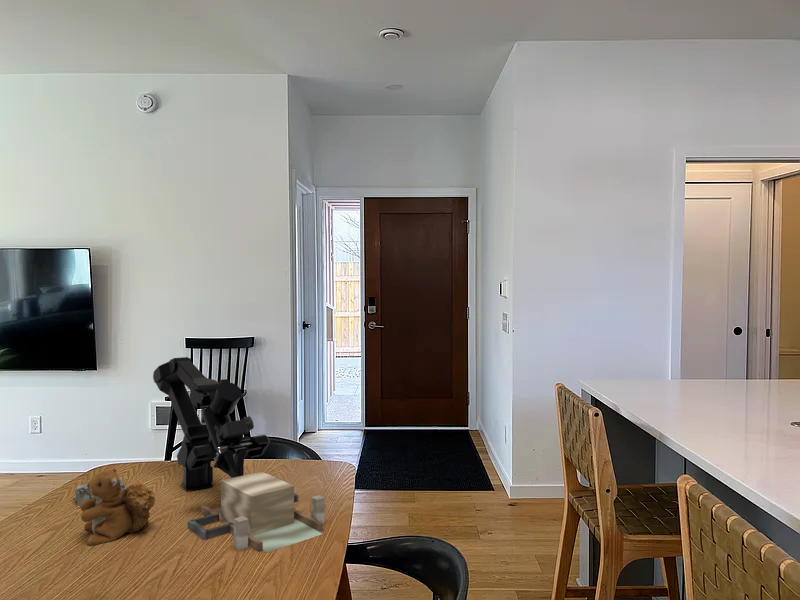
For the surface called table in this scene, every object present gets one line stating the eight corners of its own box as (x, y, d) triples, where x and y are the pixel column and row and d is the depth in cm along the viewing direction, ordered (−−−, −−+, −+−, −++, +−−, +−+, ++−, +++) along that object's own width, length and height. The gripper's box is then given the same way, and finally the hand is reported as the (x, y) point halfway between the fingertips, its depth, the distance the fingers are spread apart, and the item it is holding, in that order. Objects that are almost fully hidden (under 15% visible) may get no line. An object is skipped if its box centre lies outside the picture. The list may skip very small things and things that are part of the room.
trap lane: (176, 521, 124) (176, 494, 124) (280, 494, 141) (281, 470, 141) (234, 566, 104) (235, 533, 103) (348, 527, 121) (348, 499, 121)
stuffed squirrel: (81, 529, 120) (82, 467, 120) (154, 518, 126) (154, 459, 126) (77, 548, 111) (77, 481, 111) (156, 535, 117) (156, 472, 117)
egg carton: (76, 508, 132) (76, 491, 132) (73, 499, 138) (73, 482, 138) (126, 499, 138) (126, 482, 138) (121, 490, 144) (121, 474, 144)
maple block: (220, 516, 126) (221, 480, 126) (261, 505, 132) (261, 471, 132) (251, 535, 115) (252, 496, 115) (293, 522, 122) (294, 485, 122)
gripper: (191, 411, 127) (213, 471, 119) (266, 401, 140) (290, 455, 131) (178, 440, 133) (197, 499, 125) (250, 428, 145) (272, 481, 137)
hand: (241, 482), depth 129 cm, fingers closed, pressing on maple block
